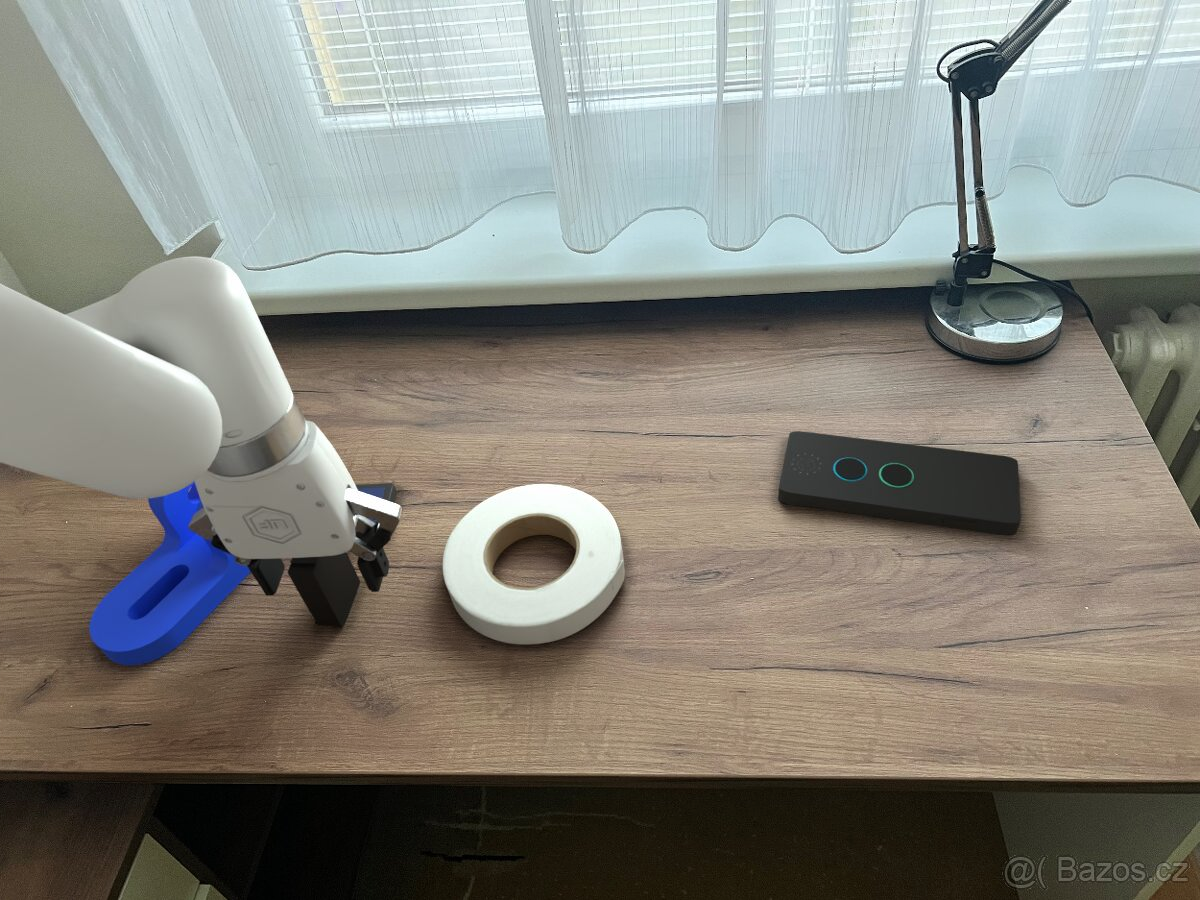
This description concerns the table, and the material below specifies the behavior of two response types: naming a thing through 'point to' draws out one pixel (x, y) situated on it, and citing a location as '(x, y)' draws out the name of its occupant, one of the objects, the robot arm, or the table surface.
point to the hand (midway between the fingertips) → (327, 579)
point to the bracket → (165, 588)
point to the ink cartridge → (326, 586)
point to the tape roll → (545, 606)
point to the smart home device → (902, 482)
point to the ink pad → (377, 495)
